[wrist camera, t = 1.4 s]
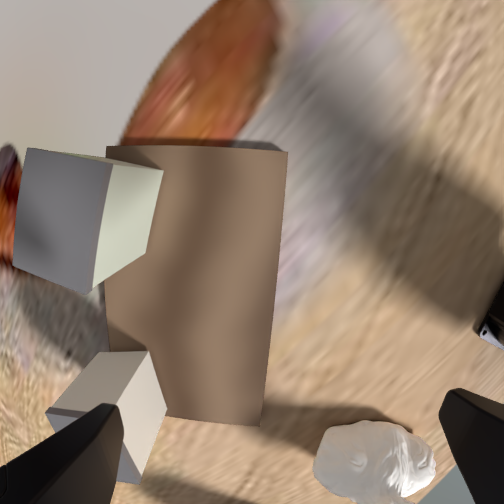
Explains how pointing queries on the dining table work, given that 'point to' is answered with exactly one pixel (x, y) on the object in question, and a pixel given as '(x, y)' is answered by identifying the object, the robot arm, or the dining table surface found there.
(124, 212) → the pale green cabinet
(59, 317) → the dining table surface
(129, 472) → the white toy cabinet
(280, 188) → the tan wooden board
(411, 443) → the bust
